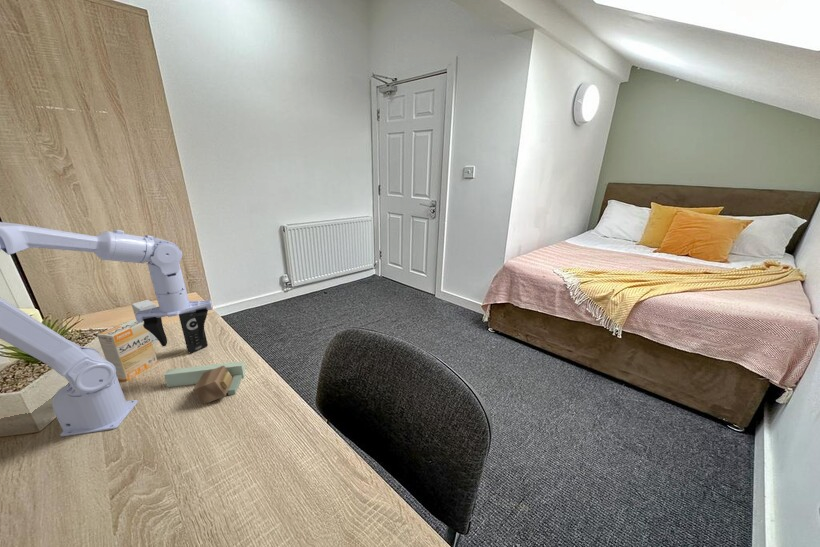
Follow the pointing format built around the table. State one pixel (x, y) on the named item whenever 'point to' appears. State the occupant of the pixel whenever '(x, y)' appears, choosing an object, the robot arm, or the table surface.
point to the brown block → (213, 384)
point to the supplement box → (128, 349)
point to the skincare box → (144, 306)
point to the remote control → (192, 332)
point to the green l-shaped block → (194, 373)
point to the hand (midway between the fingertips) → (184, 340)
